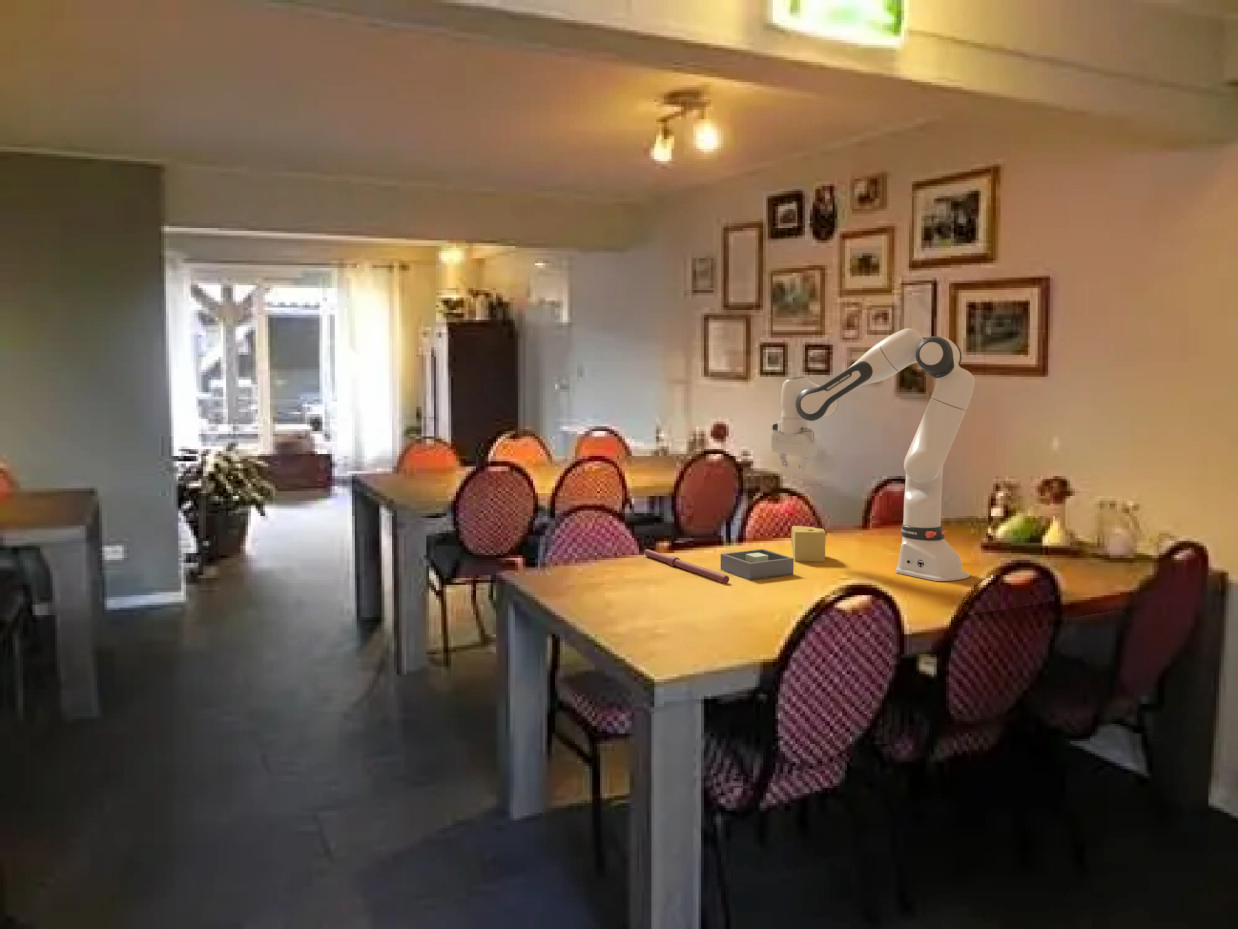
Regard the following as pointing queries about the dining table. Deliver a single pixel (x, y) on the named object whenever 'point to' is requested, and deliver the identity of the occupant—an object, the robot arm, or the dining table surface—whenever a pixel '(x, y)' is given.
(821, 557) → the cheese
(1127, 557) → the dining table surface
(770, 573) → the bin
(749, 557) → the green cube
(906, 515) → the robot arm
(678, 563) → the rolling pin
